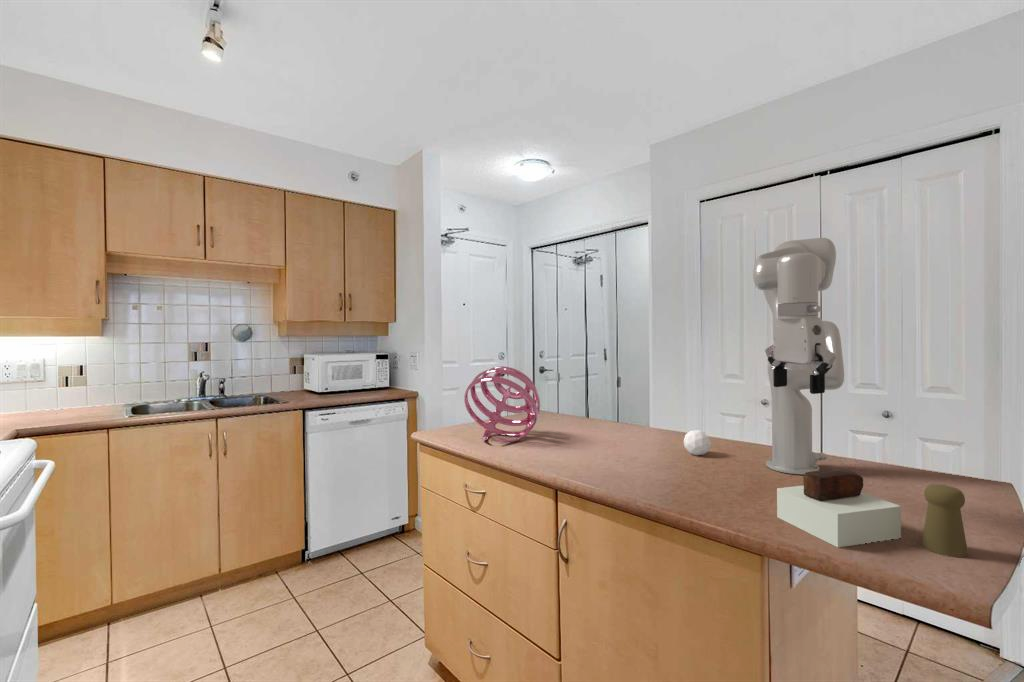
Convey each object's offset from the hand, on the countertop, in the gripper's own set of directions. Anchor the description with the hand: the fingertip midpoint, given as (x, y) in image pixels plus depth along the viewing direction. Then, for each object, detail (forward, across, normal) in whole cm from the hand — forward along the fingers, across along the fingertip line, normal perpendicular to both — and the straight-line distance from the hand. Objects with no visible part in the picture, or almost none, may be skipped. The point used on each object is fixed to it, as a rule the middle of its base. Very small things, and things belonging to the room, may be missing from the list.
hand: (797, 389), depth 102 cm
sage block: (+25, -12, +4) cm, 28 cm away
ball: (+27, +42, -4) cm, 50 cm away
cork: (+25, -24, -6) cm, 36 cm away
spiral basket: (+27, +82, +48) cm, 99 cm away
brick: (+19, -12, +3) cm, 23 cm away
